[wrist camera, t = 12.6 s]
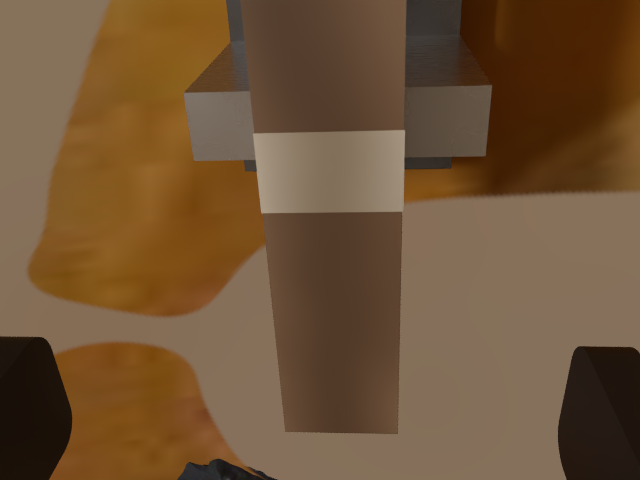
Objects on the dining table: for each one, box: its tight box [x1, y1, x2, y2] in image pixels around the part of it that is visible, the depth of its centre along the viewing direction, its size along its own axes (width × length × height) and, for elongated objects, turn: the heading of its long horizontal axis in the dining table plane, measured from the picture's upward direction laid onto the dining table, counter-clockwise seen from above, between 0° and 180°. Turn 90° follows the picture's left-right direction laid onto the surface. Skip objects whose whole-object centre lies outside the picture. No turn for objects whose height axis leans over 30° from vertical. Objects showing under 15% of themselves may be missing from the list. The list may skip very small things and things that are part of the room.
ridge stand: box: [184, 0, 492, 171], centre depth 25 cm, size 10×10×10 cm
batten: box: [240, 0, 406, 434], centre depth 19 cm, size 4×20×4 cm, turn 3°
